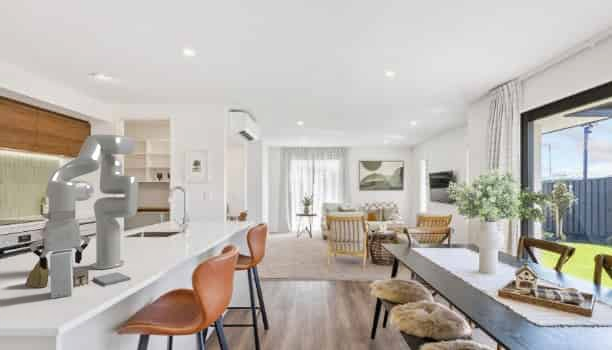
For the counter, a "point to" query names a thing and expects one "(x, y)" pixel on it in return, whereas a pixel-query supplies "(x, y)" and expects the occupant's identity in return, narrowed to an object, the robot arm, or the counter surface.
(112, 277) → the slate mat
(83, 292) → the counter surface
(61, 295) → the skincare box
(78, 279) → the walnut letter cube
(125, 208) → the robot arm
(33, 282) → the rock
